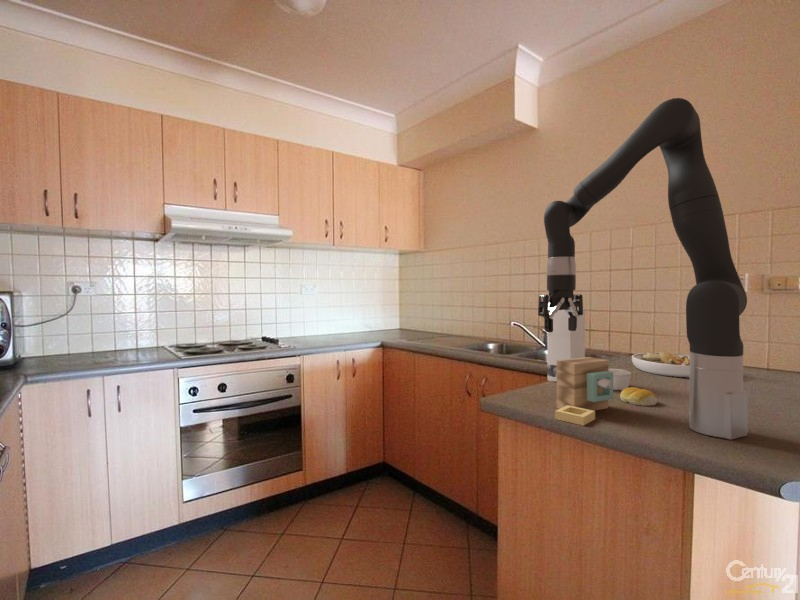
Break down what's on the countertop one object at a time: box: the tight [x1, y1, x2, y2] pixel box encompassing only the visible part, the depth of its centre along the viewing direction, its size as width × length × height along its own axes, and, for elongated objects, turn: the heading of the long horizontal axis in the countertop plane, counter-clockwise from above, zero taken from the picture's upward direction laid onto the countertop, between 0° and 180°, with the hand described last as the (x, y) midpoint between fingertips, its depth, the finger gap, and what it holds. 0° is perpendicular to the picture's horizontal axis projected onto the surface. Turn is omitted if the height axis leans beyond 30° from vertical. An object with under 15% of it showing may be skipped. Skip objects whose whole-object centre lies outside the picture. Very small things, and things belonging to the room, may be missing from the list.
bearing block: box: [556, 356, 609, 411], centre depth 106 cm, size 6×12×13 cm, turn 113°
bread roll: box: [619, 386, 658, 407], centre depth 112 cm, size 8×9×4 cm
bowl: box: [631, 351, 690, 379], centre depth 152 cm, size 30×30×8 cm
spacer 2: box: [587, 371, 614, 402], centre depth 101 cm, size 2×7×7 cm, turn 113°
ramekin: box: [608, 367, 632, 391], centre depth 129 cm, size 11×11×5 cm
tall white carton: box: [547, 307, 586, 382], centre depth 137 cm, size 9×9×25 cm
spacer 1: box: [554, 405, 596, 427], centre depth 97 cm, size 7×7×2 cm
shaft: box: [546, 365, 612, 389], centre depth 107 cm, size 19×3×3 cm, turn 23°
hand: (560, 331), depth 113 cm, fingers open, 8 cm apart
